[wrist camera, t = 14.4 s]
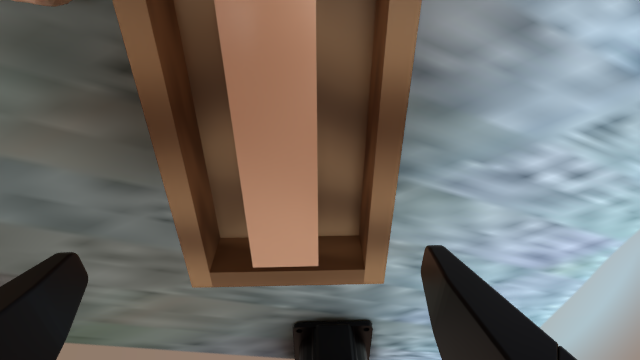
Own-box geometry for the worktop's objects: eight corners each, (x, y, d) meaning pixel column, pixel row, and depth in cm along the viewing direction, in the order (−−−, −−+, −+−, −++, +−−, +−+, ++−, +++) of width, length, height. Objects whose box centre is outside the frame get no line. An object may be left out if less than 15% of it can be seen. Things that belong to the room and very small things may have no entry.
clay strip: (317, 219, 23) (318, 266, 19) (261, 220, 23) (252, 267, 19) (313, -71, 15) (314, -78, 11) (227, -71, 15) (202, -77, 11)
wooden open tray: (373, 238, 25) (383, 283, 22) (208, 241, 25) (192, 287, 21) (412, -143, 14) (444, -173, 11) (122, -144, 14) (63, -175, 11)
